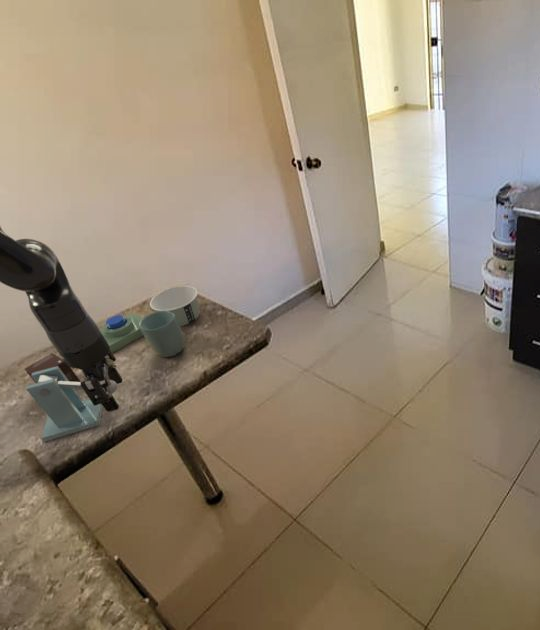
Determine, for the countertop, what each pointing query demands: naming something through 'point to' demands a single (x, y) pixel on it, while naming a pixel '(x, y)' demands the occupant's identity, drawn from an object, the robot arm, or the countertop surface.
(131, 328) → the button block
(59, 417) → the lever bracket
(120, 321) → the flush button
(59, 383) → the flush lever
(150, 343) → the cup
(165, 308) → the food container
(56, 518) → the countertop surface
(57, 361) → the box
